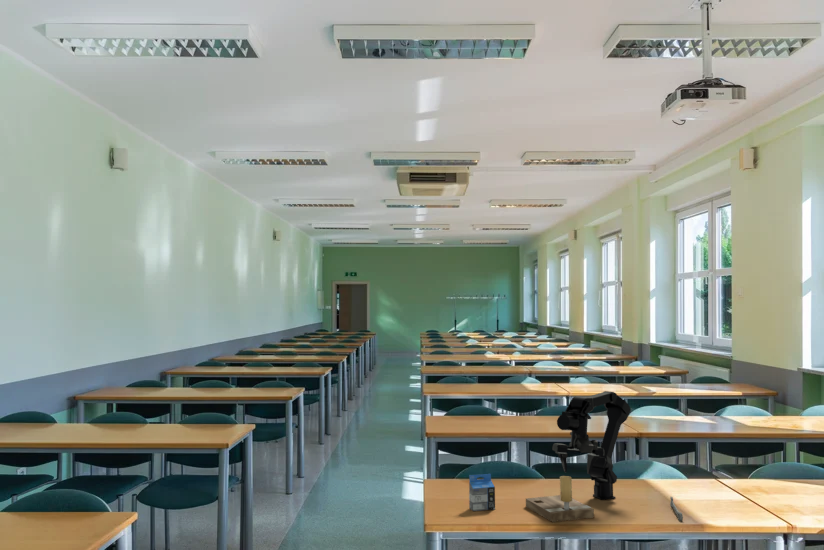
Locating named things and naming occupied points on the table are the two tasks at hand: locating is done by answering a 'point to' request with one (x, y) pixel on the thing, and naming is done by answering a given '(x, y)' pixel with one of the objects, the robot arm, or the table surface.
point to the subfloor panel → (559, 508)
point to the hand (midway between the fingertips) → (576, 472)
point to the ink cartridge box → (481, 493)
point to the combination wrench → (676, 510)
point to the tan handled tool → (566, 490)
